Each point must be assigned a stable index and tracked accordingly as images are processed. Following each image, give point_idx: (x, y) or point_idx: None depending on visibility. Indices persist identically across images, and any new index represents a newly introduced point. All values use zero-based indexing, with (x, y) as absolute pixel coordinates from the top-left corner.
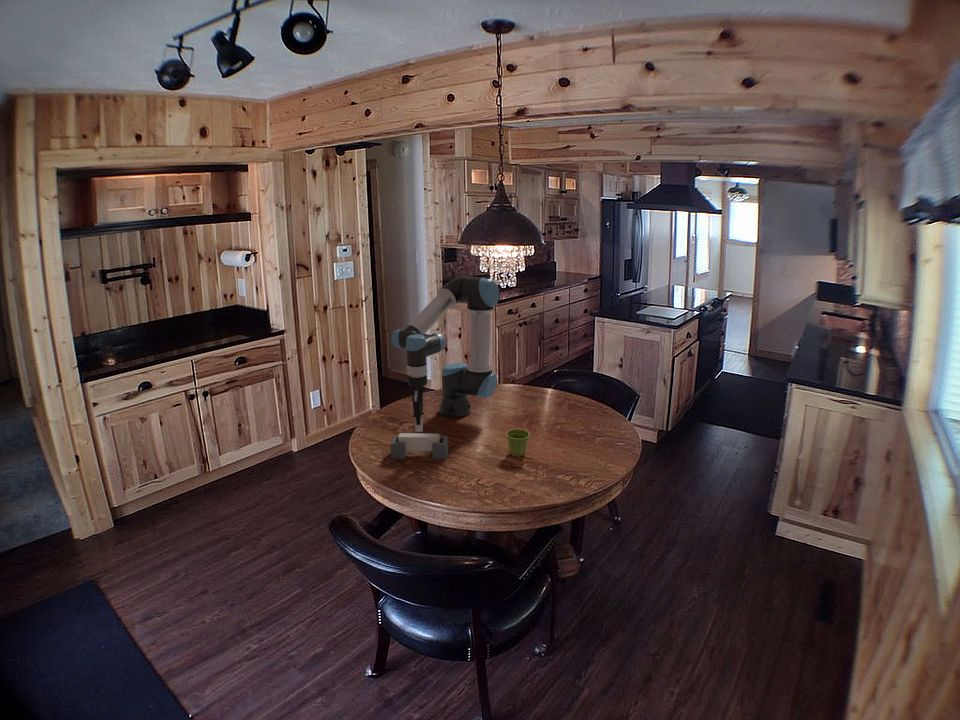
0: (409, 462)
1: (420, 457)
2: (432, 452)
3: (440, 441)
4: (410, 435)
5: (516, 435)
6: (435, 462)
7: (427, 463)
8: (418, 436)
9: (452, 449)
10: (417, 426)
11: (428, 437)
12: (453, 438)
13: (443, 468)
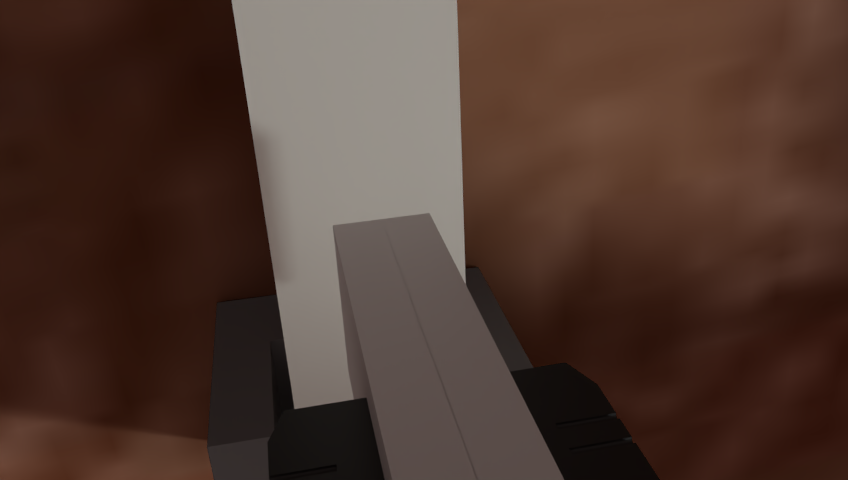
0: (36, 10)
1: (244, 135)
2: (213, 361)
3: None
4: (339, 52)
5: None
6: (139, 355)
7: (82, 271)
8: (311, 243)
9: None
10: (358, 357)
11: None
12: (786, 380)
13: (3, 475)
